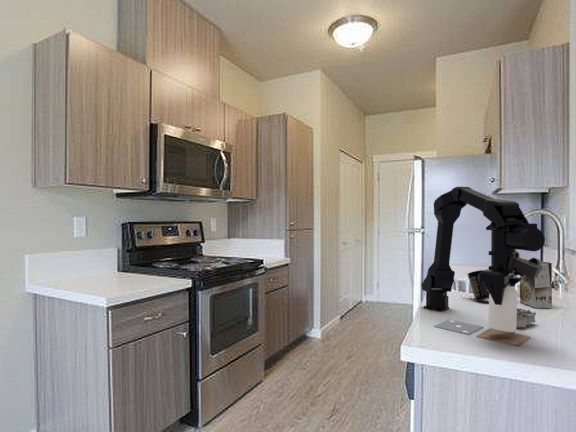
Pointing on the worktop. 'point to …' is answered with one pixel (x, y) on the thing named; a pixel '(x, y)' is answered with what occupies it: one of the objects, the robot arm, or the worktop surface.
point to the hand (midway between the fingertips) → (503, 305)
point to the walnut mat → (504, 337)
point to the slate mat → (458, 327)
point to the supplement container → (478, 286)
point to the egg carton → (524, 317)
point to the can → (504, 312)
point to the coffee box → (538, 288)
